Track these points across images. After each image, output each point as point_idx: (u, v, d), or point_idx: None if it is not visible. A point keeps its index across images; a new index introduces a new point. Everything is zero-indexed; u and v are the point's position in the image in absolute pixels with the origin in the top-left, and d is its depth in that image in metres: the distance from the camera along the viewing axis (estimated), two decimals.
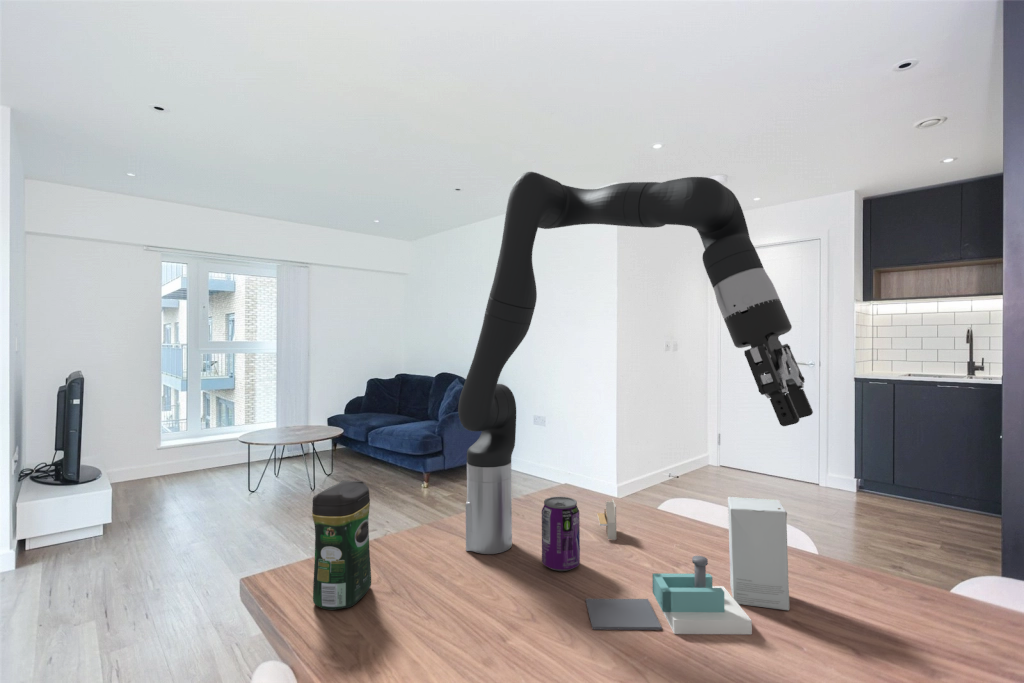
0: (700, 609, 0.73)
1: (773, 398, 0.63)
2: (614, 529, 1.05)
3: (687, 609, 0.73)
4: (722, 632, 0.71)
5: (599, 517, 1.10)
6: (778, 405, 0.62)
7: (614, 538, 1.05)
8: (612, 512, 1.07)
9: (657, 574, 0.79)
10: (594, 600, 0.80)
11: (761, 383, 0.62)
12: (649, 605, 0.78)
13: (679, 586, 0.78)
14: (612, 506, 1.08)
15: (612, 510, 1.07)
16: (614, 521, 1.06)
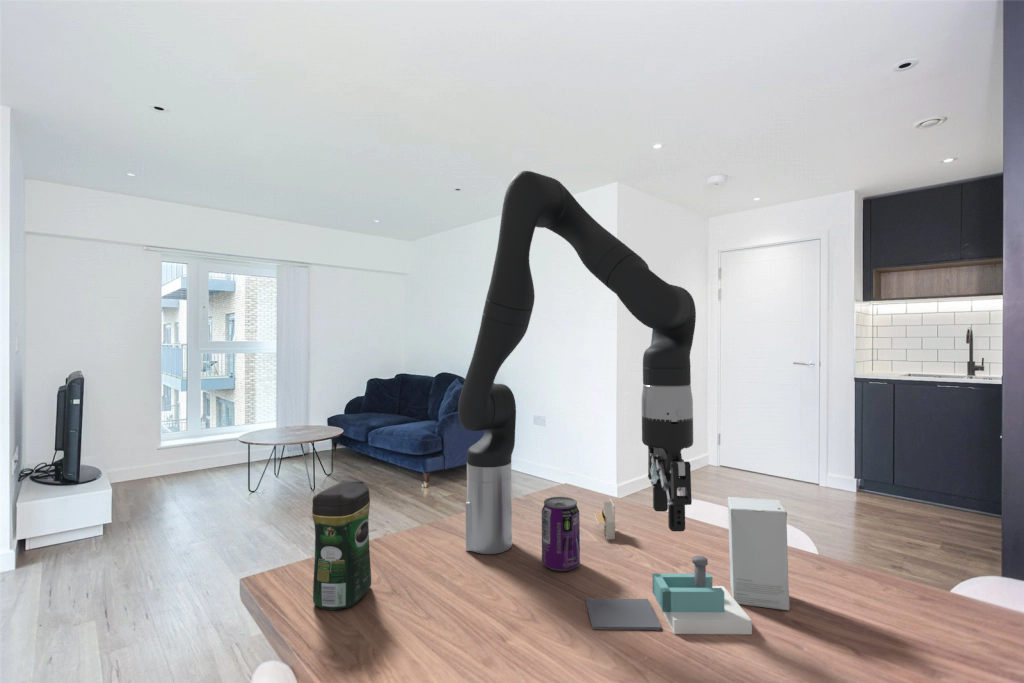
0: (700, 609, 0.73)
1: (675, 507, 0.71)
2: (613, 528, 1.06)
3: (687, 609, 0.73)
4: (722, 632, 0.71)
5: (597, 517, 1.10)
6: (677, 514, 0.71)
7: (613, 537, 1.06)
8: (610, 512, 1.07)
9: (657, 574, 0.79)
10: (594, 600, 0.80)
11: None
12: (649, 605, 0.78)
13: (679, 586, 0.78)
14: (610, 506, 1.08)
15: (610, 510, 1.08)
16: (613, 520, 1.06)
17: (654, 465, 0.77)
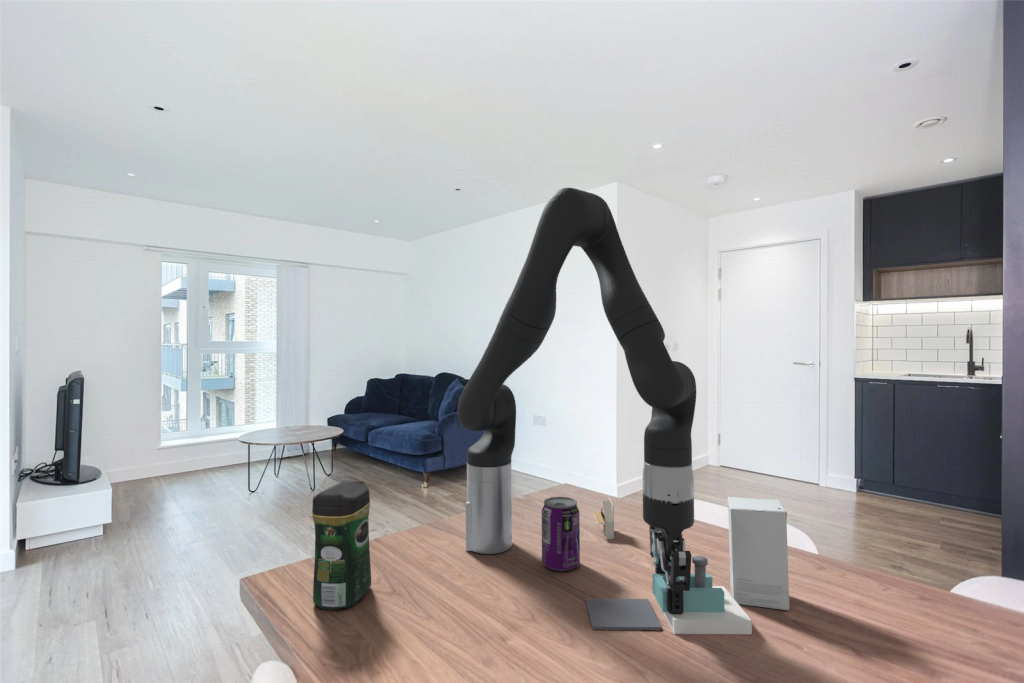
0: (700, 609, 0.73)
1: (674, 591, 0.72)
2: (612, 528, 1.06)
3: (687, 609, 0.73)
4: (722, 632, 0.71)
5: (596, 516, 1.10)
6: (675, 598, 0.72)
7: (612, 537, 1.06)
8: (609, 511, 1.07)
9: (657, 574, 0.79)
10: (594, 600, 0.80)
11: None
12: (649, 605, 0.78)
13: None
14: (609, 505, 1.08)
15: (609, 509, 1.08)
16: (612, 520, 1.06)
17: (655, 541, 0.77)
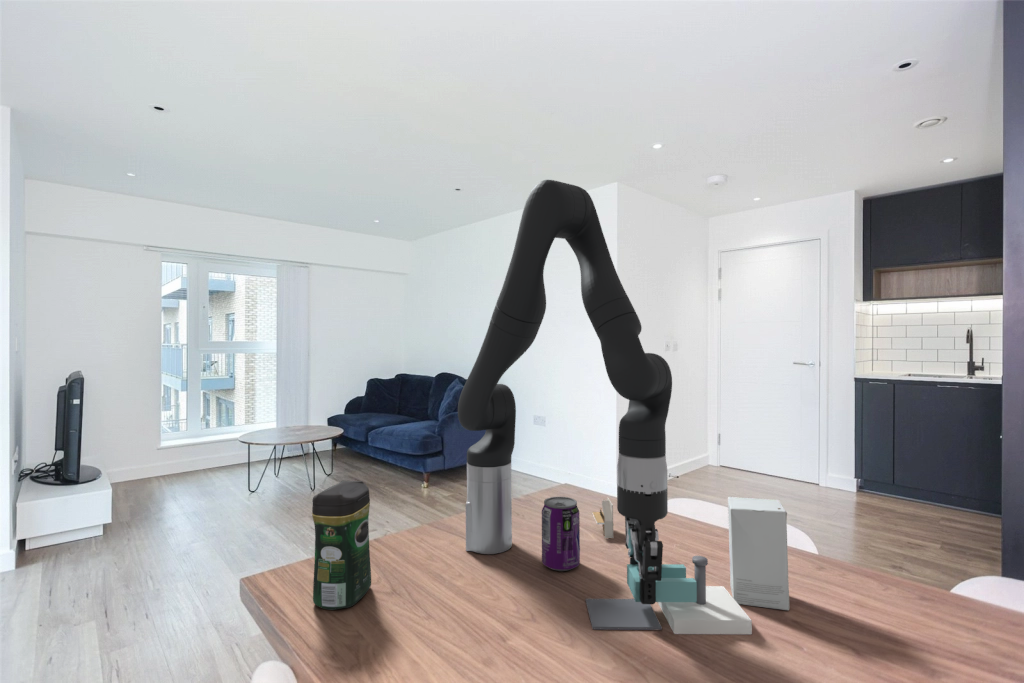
0: (673, 599, 0.74)
1: (646, 581, 0.72)
2: (611, 527, 1.06)
3: (660, 599, 0.74)
4: (722, 632, 0.71)
5: (595, 516, 1.10)
6: (647, 588, 0.72)
7: (611, 536, 1.06)
8: (609, 511, 1.08)
9: (632, 564, 0.79)
10: (594, 600, 0.80)
11: None
12: (649, 605, 0.78)
13: None
14: (608, 505, 1.09)
15: (608, 509, 1.08)
16: (611, 519, 1.06)
17: (629, 532, 0.78)
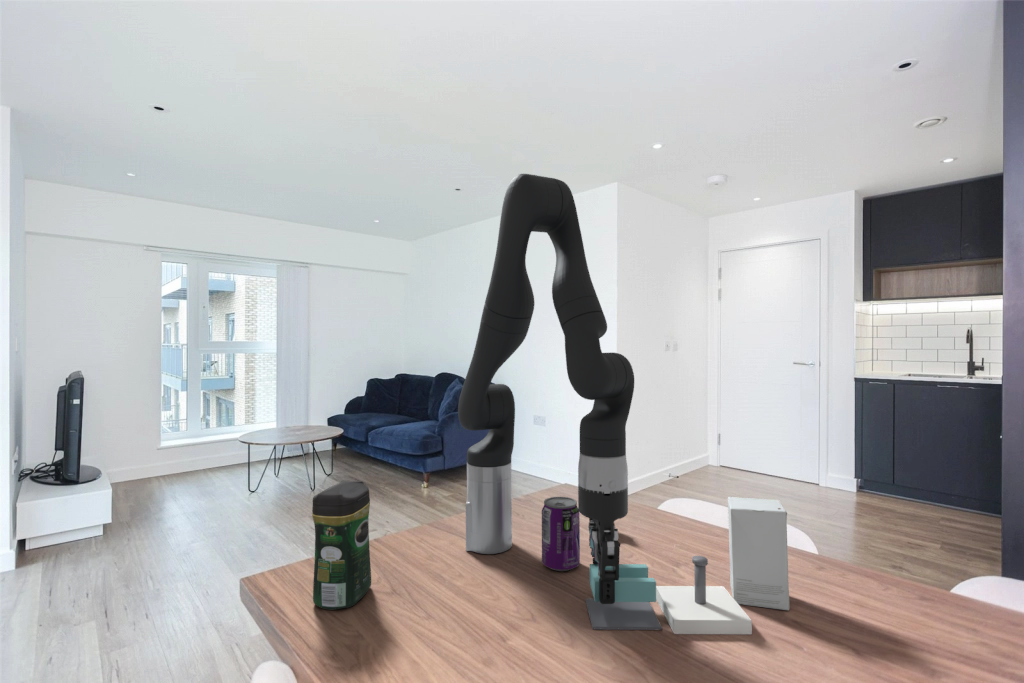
0: (632, 599, 0.73)
1: (605, 581, 0.72)
2: None
3: (619, 599, 0.73)
4: (722, 632, 0.71)
5: None
6: (606, 588, 0.72)
7: None
8: None
9: (594, 564, 0.79)
10: (594, 600, 0.80)
11: None
12: (649, 605, 0.78)
13: None
14: None
15: None
16: None
17: (591, 532, 0.77)
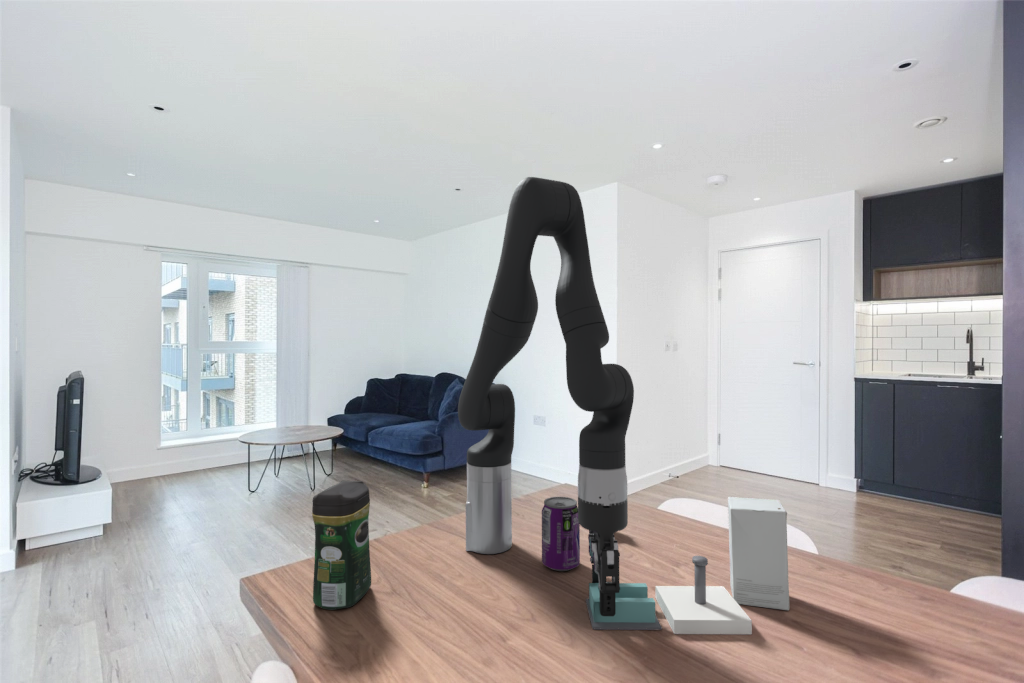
0: (631, 620, 0.73)
1: (605, 593, 0.71)
2: None
3: (618, 619, 0.73)
4: (722, 632, 0.71)
5: None
6: (606, 600, 0.71)
7: None
8: None
9: (594, 583, 0.79)
10: None
11: (604, 582, 0.70)
12: None
13: None
14: None
15: None
16: None
17: (590, 543, 0.78)
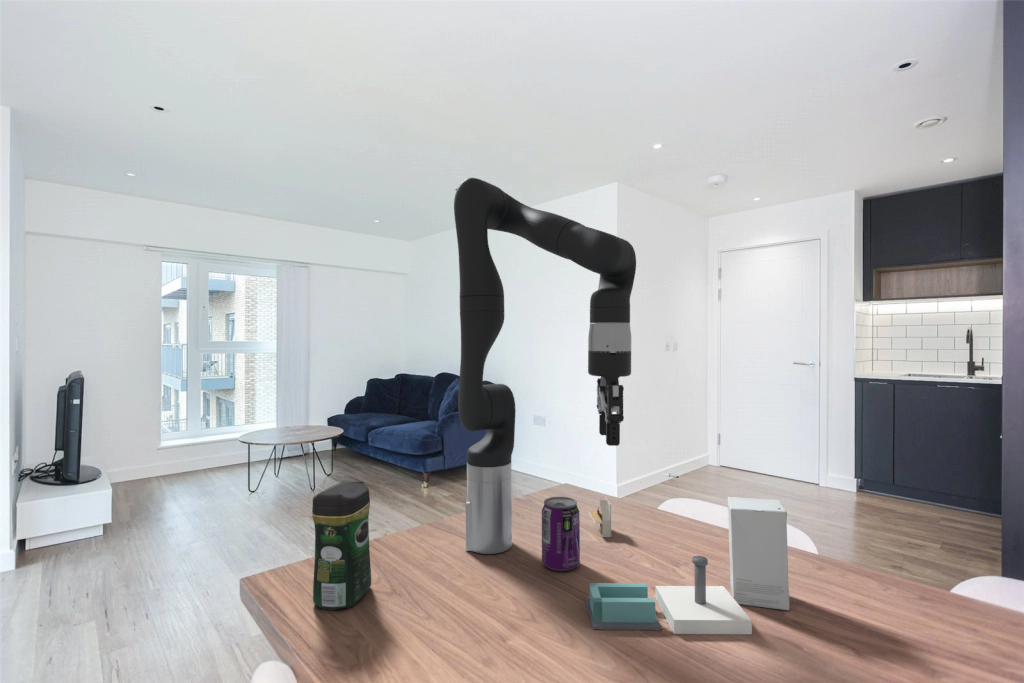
0: (631, 620, 0.73)
1: (611, 424, 0.83)
2: (609, 526, 1.07)
3: (618, 619, 0.73)
4: (722, 632, 0.71)
5: (592, 515, 1.10)
6: (612, 430, 0.83)
7: (609, 535, 1.06)
8: (606, 510, 1.08)
9: (594, 583, 0.79)
10: None
11: (610, 413, 0.82)
12: None
13: (614, 596, 0.78)
14: (606, 504, 1.09)
15: (606, 508, 1.08)
16: (609, 519, 1.07)
17: (598, 393, 0.90)
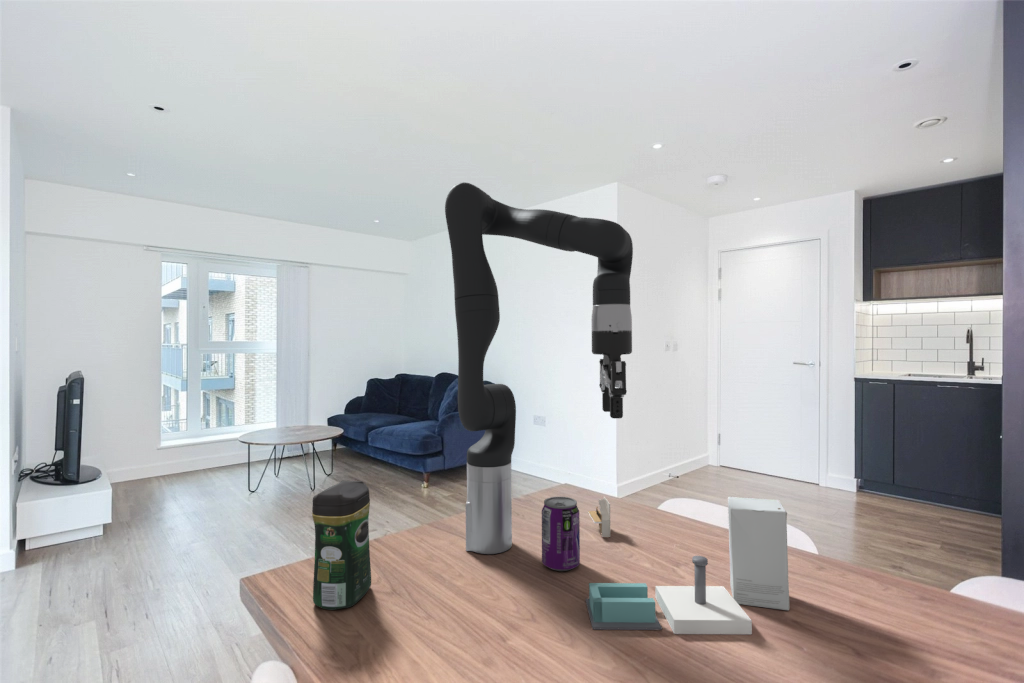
0: (631, 620, 0.73)
1: (614, 398, 0.89)
2: (608, 526, 1.07)
3: (618, 619, 0.73)
4: (722, 632, 0.71)
5: (591, 515, 1.11)
6: (616, 404, 0.89)
7: (608, 535, 1.07)
8: (605, 509, 1.08)
9: (594, 583, 0.79)
10: None
11: None
12: None
13: (614, 596, 0.78)
14: (605, 504, 1.09)
15: (605, 507, 1.09)
16: (608, 518, 1.07)
17: (602, 371, 0.96)
